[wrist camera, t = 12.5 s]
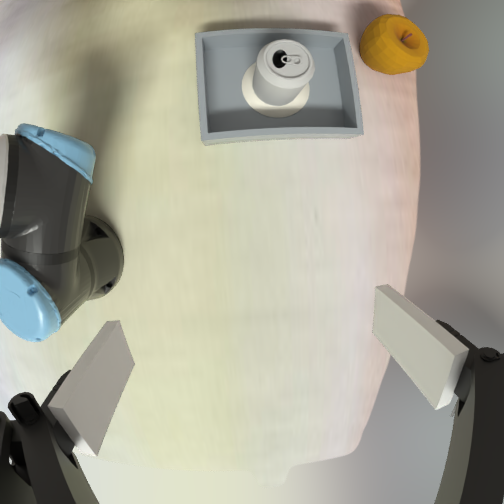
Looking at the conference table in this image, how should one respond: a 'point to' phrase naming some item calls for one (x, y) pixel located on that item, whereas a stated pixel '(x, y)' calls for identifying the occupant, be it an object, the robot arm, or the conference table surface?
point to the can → (282, 72)
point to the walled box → (264, 115)
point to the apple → (393, 45)
